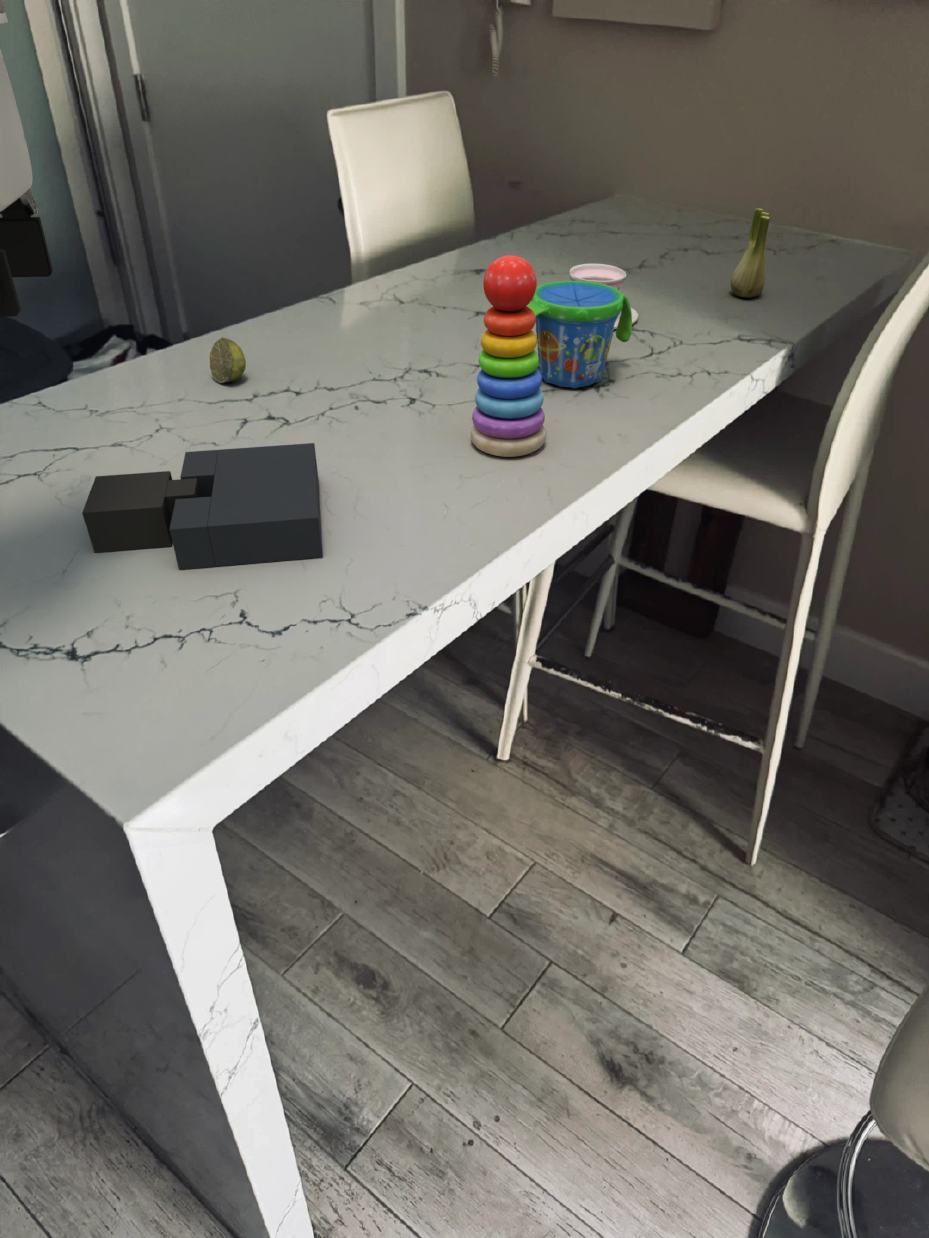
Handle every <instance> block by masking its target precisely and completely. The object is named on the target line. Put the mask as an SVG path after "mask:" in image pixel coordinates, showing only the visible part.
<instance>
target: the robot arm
mask: <svg viewBox="0 0 929 1238" xmlns="http://www.w3.org/2000/svg"><path fill="white" fill-rule="evenodd" d="M4 3H5V2H4V0H0V25H3V24H8V23H9V21H8V16H7V12H6V8H5V4H4ZM17 104H18V103H17V101H16V97H15V94H14V90H13V87H12V83H11V79H10V76H9V73H8V69H7V65H6V63H5V57H4V55H3V53H2V49H1V48H0V318H10V317H17V316H18V315H19V314H20V313H21V311H22V310H21V305H20V301H19V297H18V293H17V290H16V285H15V282H14V278H43V277H51V275H52V274H53V273H54V268H53V264H52V259H51V256H50V252H49V248H48V245H47V239H46V236H45V232H44V228H43V224H42V220H41V216H39V207H38V203H37V200H36V198H35V196H34V194H33V192H32V189H31V187H32V184H33V180H34V177H33V176H34V175H33V168H32V162H31V158H30V152H29V149H28V144H27V140H26V139H27V138H26V136H25V132H24V127H23V124H22V120H21V115H20V112H19V109H18V105H17Z"/></svg>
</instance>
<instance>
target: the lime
mask: <svg viewBox="0 0 929 1238" xmlns="http://www.w3.org/2000/svg"><path fill="white" fill-rule="evenodd" d="M246 365H247V361H246V357H245V354H244V351H243V350H242V348H241V347H240V345H239V344H237V342H235V341H234V340H232V339H229V338H226V337H221V338H218V339H217V340H216V341H215V342H214V344H213V345H212V348H211V350H210V353H209V370H210V374H211V375H212V378H213V379H214V381H216V382H217V383H219V384H228V383H233V382H234V381H236V380H238V379H239V378H241V376H242V375H243V374H244V373H245V371H246Z"/></svg>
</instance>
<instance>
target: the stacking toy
mask: <svg viewBox="0 0 929 1238" xmlns="http://www.w3.org/2000/svg"><path fill="white" fill-rule="evenodd" d="M537 279H538V278H537V275H536V272H535V270H534V267H533V266H532V264H531V263H529V261H527V260H526V259H524V258H523V257H521V256H517V255H513V254H512V255H511V254H510V255H503V256H499V257H498V258H497V259H495V260H494V261H492V262H491V263H490V265H488V267H487V268H486V270H485V273H484V276H483V279H482V280H483V282H482V286H483V293H484V295H485V298H486V299H487V301H488V302H489V304H490V305H491V307H490V308H488V309H487V310H486V311H485V313H484V315H483V324H484V326H485V328H486V330H485V331H484V332H483V333H482V334H481V337H480V345H481V348H482V351H481V352H480V353H479V356H478V364H479V365H478V366H479V367H480V370H479V372H478V374H477V377H476V382H477V386H478V389H477V390H476V392H475V395H474V402H475V405H476V406H475V408H474V409H473V411H472V414H471V416H472V417H471V418H472V424H473V425H472V427H471V430H470V439H471V442H472V443H473V445H474V446H475V447H476V448H477V449H478V450H480V451H482V452H483V453H485V454H489V455H492V456H497V457H504V458H514V457H522V456H526V455H530V454H532V453H534V452H536V451H538V450H539V449H541V448H542V447H543V445H544V444H545V442H546V439H547V430H546V427H545V426H544V424H545V421H546V420H545V419H546V418H545V416H546V415H545V412H544V409H543V408H542V406H543V404H544V393H543V391H542V389H541V386H542V382H543V377H542V376H541V373H540V369H538V366H539V357H538V351H536V347H537V336H536V332H535V331H534V330H533V328H534V327H535V326H536V316H535V313H534V312H533V310H532V309H530V308H529V307H527V306H528V305H529V304H530V303H531V300H532V299H533V297H534V294H535V291H536V287H538V286H537V283H538V281H537Z"/></svg>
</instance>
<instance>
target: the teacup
mask: <svg viewBox="0 0 929 1238" xmlns="http://www.w3.org/2000/svg"><path fill="white" fill-rule="evenodd" d="M568 276H569V278H570V281H587V282H595V283H600V284H604V285H608V286H611V287H613V288H616V289H617V290H619V291H620V289H621V287H620V286H621V285H622V284H623V283H624V281H625V280H626V278H627V273H626V271H625V270H624V269H622V268H620V267H618V266H614V265H612V264H611V265H610V264H604V263H583V264H576V265H574V266H572V267H571V268H570V269H569V275H568ZM631 312H632V325H634V324H635V323H636V322H638V320H639V313H638V311H637V310H636V309H634V308H633V307H631ZM620 316H621V312H620V314H619V315H618V317H617V319H616V322H615V325H614V330H616V329H617V326H618V323H619V319H620Z"/></svg>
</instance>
